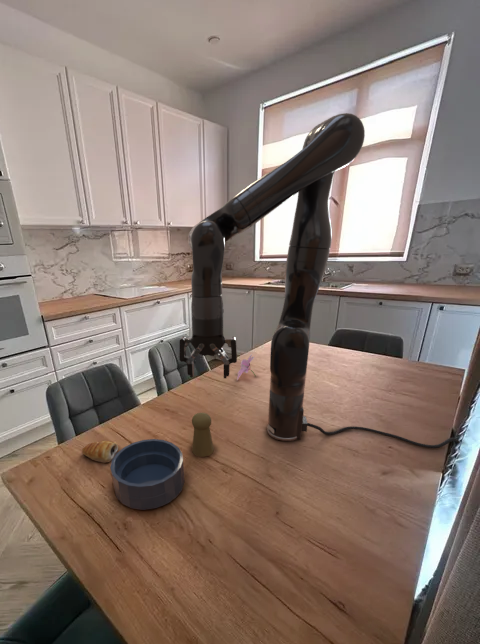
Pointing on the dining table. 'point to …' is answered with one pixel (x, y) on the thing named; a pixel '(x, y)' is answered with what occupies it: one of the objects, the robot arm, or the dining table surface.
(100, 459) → the pastry
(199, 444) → the olive game pawn
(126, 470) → the basin
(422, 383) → the dining table surface
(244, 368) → the lily
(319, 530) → the dining table surface
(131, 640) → the dining table surface
